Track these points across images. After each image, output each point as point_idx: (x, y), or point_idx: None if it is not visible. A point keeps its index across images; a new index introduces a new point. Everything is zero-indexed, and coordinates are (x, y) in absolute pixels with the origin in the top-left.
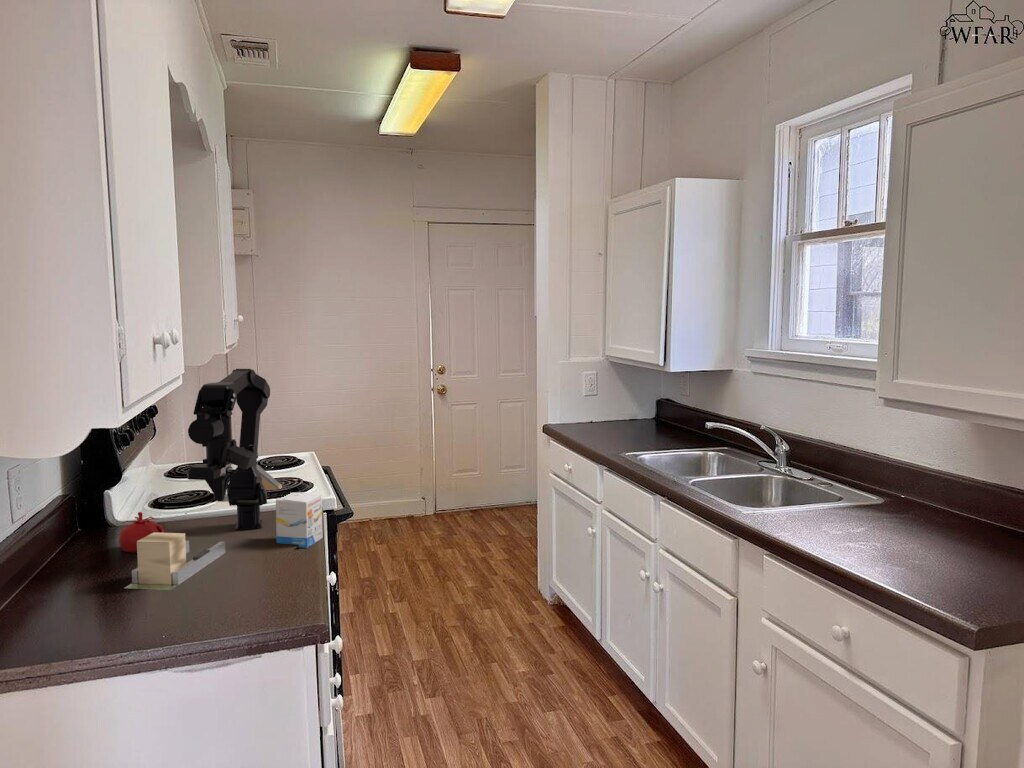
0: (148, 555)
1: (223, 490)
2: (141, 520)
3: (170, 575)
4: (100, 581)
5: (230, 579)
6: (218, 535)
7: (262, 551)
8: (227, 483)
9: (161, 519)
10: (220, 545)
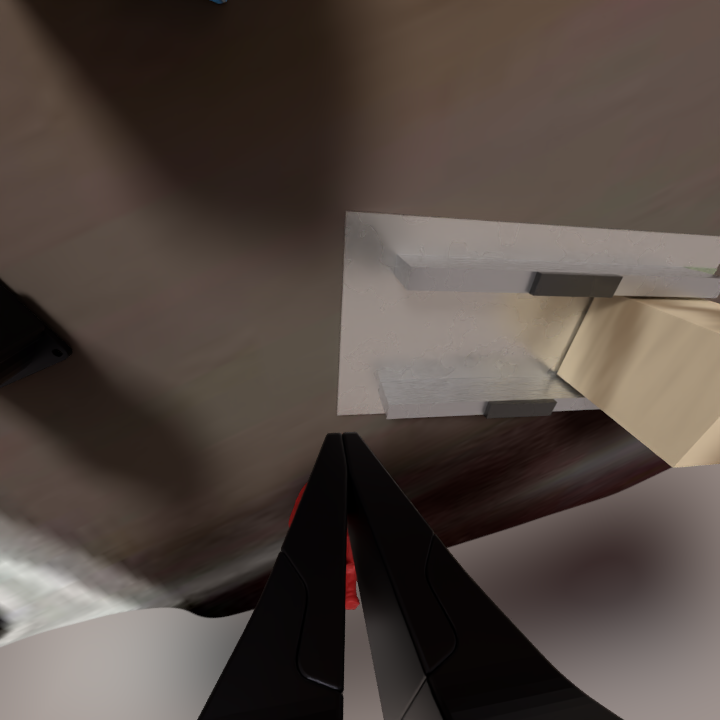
0: None
1: (385, 511)
2: (355, 573)
3: (703, 299)
4: (541, 451)
5: (674, 101)
6: (162, 385)
7: (330, 78)
8: (298, 601)
9: (88, 573)
10: (450, 267)
